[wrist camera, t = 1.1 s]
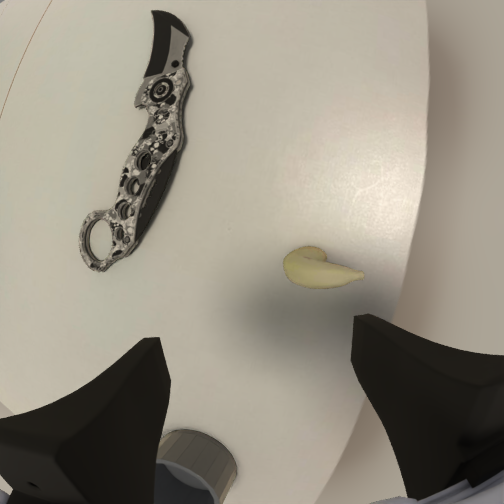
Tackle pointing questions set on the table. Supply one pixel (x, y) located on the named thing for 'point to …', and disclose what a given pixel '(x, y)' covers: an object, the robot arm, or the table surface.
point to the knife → (147, 143)
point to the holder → (192, 469)
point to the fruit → (317, 270)
